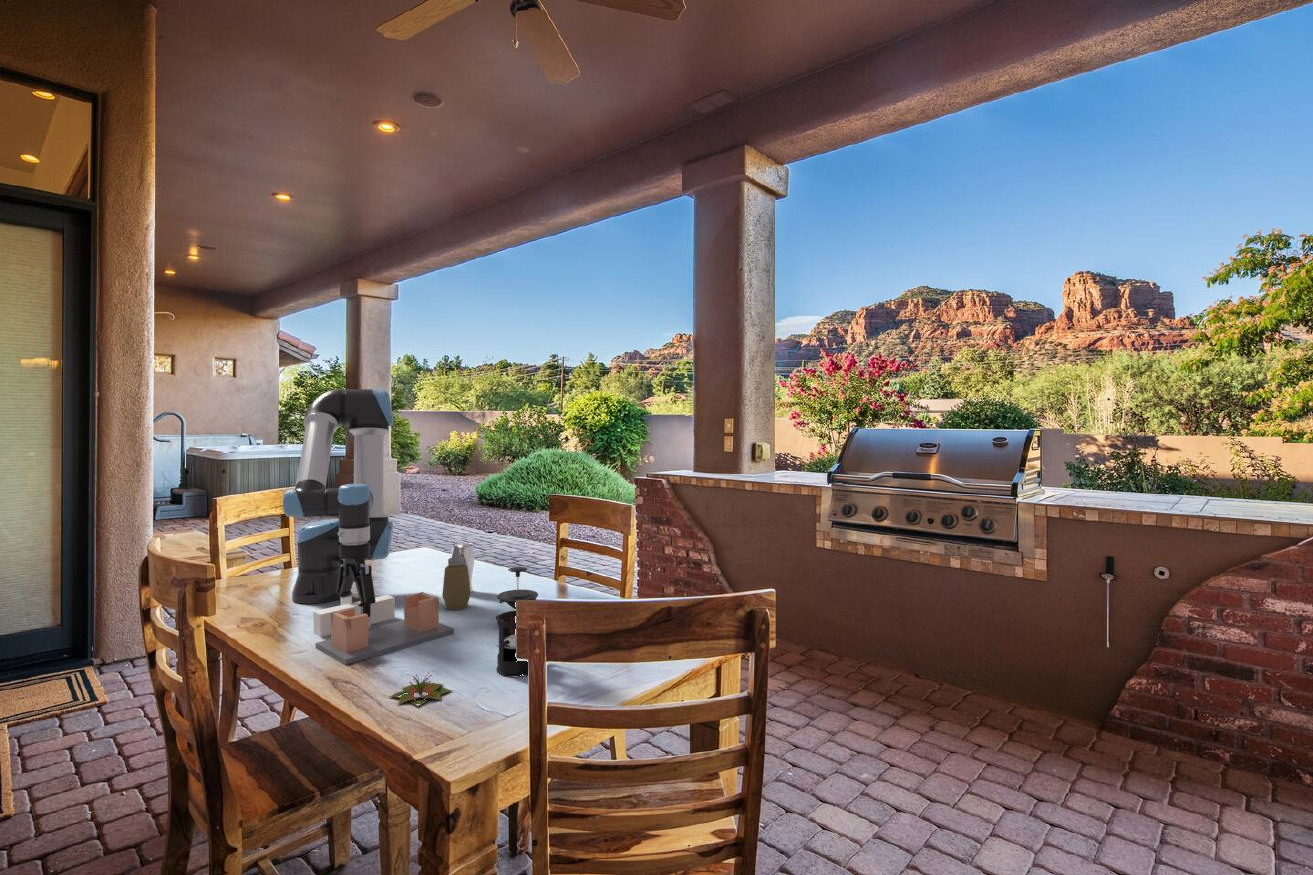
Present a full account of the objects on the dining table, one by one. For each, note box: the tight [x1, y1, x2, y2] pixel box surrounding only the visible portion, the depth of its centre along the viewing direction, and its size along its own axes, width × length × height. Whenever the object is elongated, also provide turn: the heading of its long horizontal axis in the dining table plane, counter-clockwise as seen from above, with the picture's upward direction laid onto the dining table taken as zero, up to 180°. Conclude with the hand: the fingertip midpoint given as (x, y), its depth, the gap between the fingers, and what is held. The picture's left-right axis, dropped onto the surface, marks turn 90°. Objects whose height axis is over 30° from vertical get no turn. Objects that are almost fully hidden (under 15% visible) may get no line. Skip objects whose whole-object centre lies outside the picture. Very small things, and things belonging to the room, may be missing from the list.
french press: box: [496, 566, 539, 677], centre depth 148 cm, size 12×9×23 cm
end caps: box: [314, 591, 455, 666], centre depth 165 cm, size 16×28×9 cm, turn 140°
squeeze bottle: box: [441, 546, 472, 610], centre depth 192 cm, size 8×8×18 cm
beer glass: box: [450, 542, 475, 594], centre depth 208 cm, size 7×7×15 cm
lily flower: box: [388, 671, 454, 708], centre depth 134 cm, size 12×12×5 cm
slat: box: [312, 594, 396, 638], centre depth 176 cm, size 4×20×6 cm, turn 140°
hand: (355, 624), depth 176 cm, fingers open, 10 cm apart
